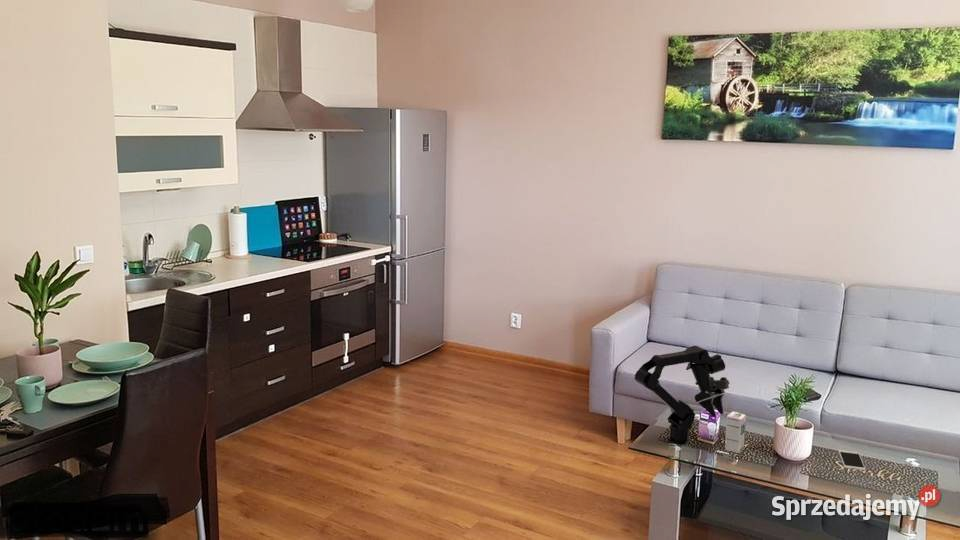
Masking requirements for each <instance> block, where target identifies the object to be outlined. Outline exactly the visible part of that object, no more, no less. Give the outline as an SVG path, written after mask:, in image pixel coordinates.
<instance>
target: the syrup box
mask: <svg viewBox="0 0 960 540" xmlns="http://www.w3.org/2000/svg"><path fill="white" fill-rule="evenodd" d="M746 422H747V414H745V413H742V412H737V411H731V412H730V413H729V414H727V416H726V425H725V426H726V427H725V440H724V441H725V443H724V450H725V451H726V450H727V451H726V452H730V451H733V452H736V453H735V454H737V453H739V454H740V453H742V452H743V451H744V449H745V447H744V445H745V439H746ZM733 452H732V453H733Z"/></svg>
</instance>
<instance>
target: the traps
mask: <svg viewBox="0 0 960 540" xmlns="http://www.w3.org/2000/svg"><path fill="white" fill-rule="evenodd" d="M721 459H724V460H727V461H732V462H734V461H735V460H736V458H735V459H732V458H731V457H729V454H726V453H725V454H724V453H723V456H722V457H721Z"/></svg>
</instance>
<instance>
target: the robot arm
mask: <svg viewBox="0 0 960 540" xmlns="http://www.w3.org/2000/svg"><path fill="white" fill-rule="evenodd" d="M682 364H687V365H686V368H685V370H686V371H689V370H691V372H692V375H693V376H694V379H695V381H696V382H695V383H694V384H695V385H696V386H698V390H699V391H700V392H698V393H696V394H695V396H694V400H695V402H696V403H698V405H700V406H701V407H702V408H703V409H704V410H705V411H707V412H708V413H709V414H710V415H711V416H712V417H713V418H716V416H717V413H716V410H717V411H718V413H719V414H720V415H723V414H724V408H723V397H724V396H725V393H726V390H727V389H729V388H730V386H729V385H730V381H729V379H728V378H727V377H725V376H723V377H720V378H719V379H715V377H713V376H711V375H713V374H717V373H720V372H722V371H725V370H726V364H725V361H724V359H723V358H722V355H720V354H715V355H712V356H710V354H709V351H708V350H707V349H705V348H703V347H700V346H698V345H692V346H689V347H686V349H684V350H683V351H677V352H671V353H670V352H669V353H665V354H664V353H663V354H655V355H653V356H652V357H651V358H650V360H648V361H646V362H645V363H643V364H642V365H641V366H640V368H638V370H637V371H636V372H635V375H634V380H635V382H636V383H638V384H640V385H642V386H643V387H645V388H646V389H648V390H650V391H651V392H652V393H653V394H654V395H655V396H656V397H657V398H658V399H660V401H662V403H664V404H665V405H666V406H667V407H668V408H669V409H670V412H671V413H670V415H669V416H668V417H667V421H668V422H667V423H669V424H670V431H669V433H670V434H669V435H670V436H669V439H668V441H669V442H670V443H675V444H680V445H686V443H688V441H689V440H690V430H691V429H692V427H693V424H694V421H695V417H696V413H695V409H692V408H691V406H690V405H689V404H688V403H686V402H684V401H682V400H680V399H678V400H677V399H676V398H674V397H673V396H672V395H671V394H670V392H668V391H667V390H666V389H665V388H664V387H663V386H661V384H660V380H659V379H660V378H661V375H662V371H663V369H664V368H665V367H669V366H675V365H682ZM653 368H654V370H653V372H651V371H650V370H651V369H653Z"/></svg>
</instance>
